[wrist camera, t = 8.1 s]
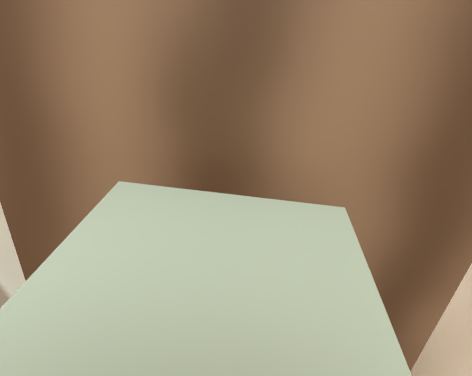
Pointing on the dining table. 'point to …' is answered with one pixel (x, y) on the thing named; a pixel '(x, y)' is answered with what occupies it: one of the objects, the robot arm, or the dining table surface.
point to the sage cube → (201, 293)
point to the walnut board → (251, 122)
